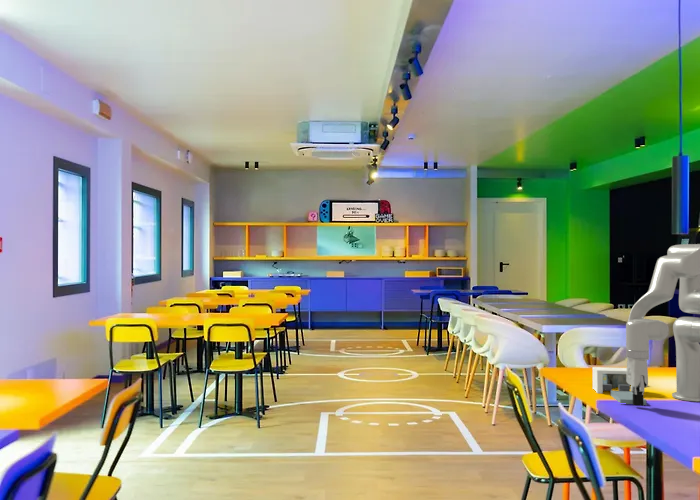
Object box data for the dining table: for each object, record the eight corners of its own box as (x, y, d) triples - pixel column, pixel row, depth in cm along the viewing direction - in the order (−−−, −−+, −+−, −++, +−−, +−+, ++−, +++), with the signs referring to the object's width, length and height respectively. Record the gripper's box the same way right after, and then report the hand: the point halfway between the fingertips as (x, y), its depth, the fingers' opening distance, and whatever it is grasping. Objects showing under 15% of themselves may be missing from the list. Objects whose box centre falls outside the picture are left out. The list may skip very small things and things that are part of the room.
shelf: (635, 390, 248) (635, 368, 248) (642, 394, 240) (641, 371, 241) (592, 389, 251) (592, 367, 251) (597, 393, 243) (597, 370, 243)
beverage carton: (592, 385, 259) (592, 370, 259) (623, 382, 267) (623, 367, 267) (607, 389, 251) (607, 373, 252) (639, 385, 260) (639, 370, 260)
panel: (634, 397, 238) (634, 391, 238) (646, 406, 222) (646, 400, 222) (610, 396, 240) (610, 390, 240) (620, 405, 224) (620, 399, 224)
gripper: (620, 351, 227) (621, 400, 227) (633, 357, 212) (633, 409, 212) (641, 352, 226) (642, 401, 226) (655, 358, 211) (656, 410, 211)
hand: (638, 405), depth 219 cm, fingers closed
